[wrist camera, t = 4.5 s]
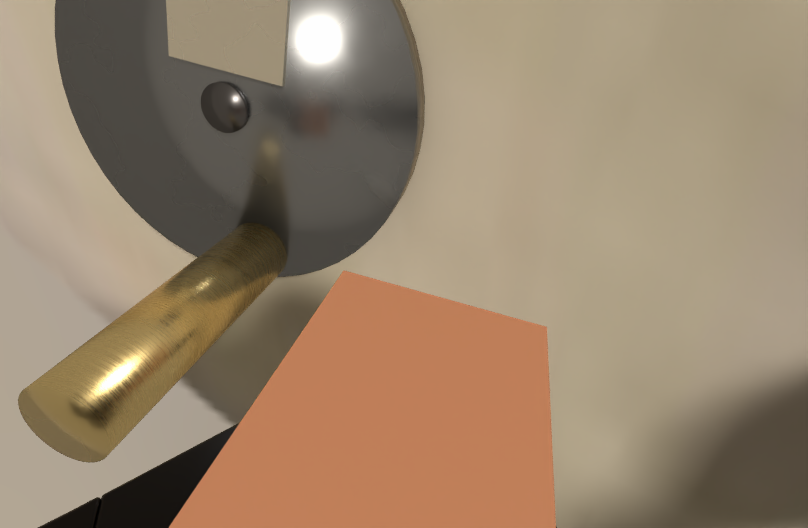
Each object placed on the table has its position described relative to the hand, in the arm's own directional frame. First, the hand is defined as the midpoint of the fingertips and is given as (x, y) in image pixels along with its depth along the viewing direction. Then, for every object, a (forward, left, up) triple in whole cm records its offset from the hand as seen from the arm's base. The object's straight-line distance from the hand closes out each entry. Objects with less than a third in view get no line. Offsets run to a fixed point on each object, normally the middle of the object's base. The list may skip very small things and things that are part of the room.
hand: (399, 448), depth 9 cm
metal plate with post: (+9, +3, -12) cm, 16 cm away
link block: (0, 0, -1) cm, 1 cm away
